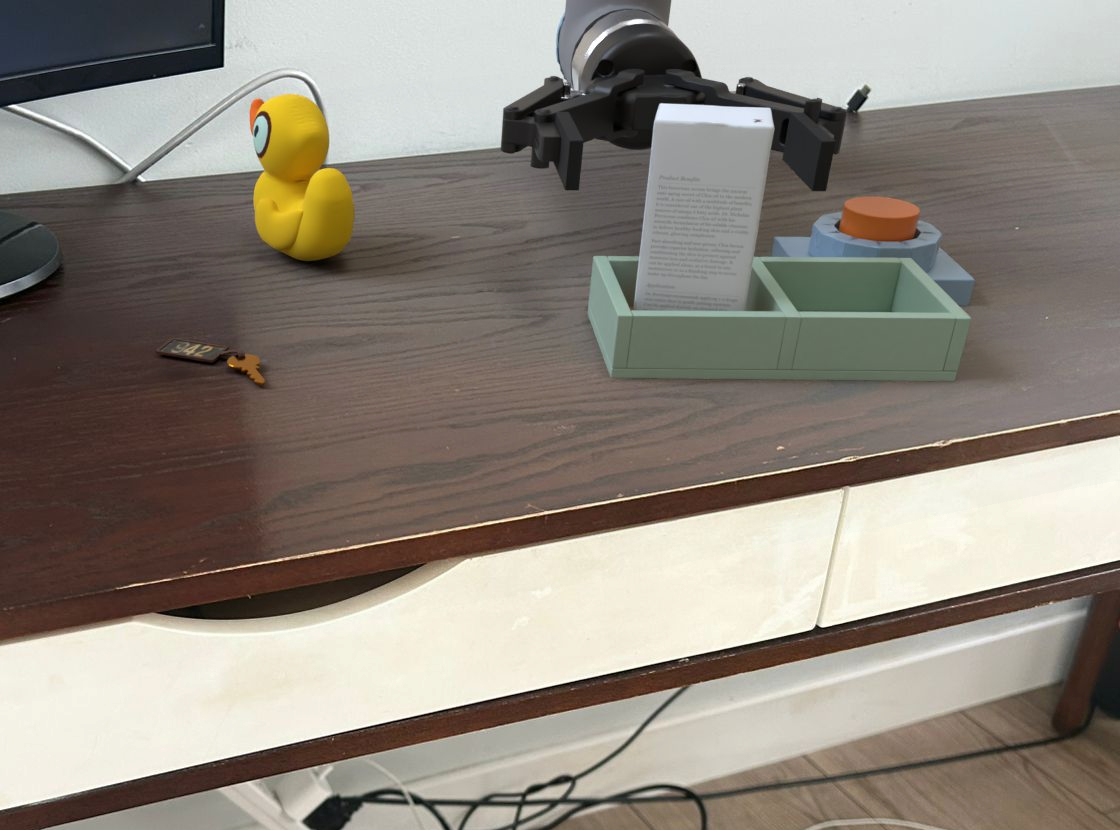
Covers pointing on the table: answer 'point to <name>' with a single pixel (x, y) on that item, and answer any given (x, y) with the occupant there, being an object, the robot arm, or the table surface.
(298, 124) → the duckling
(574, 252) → the table surface
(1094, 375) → the table surface
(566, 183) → the robot arm
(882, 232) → the button
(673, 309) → the cosmetic box
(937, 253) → the button base
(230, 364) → the key tag
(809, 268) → the tray
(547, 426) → the table surface
